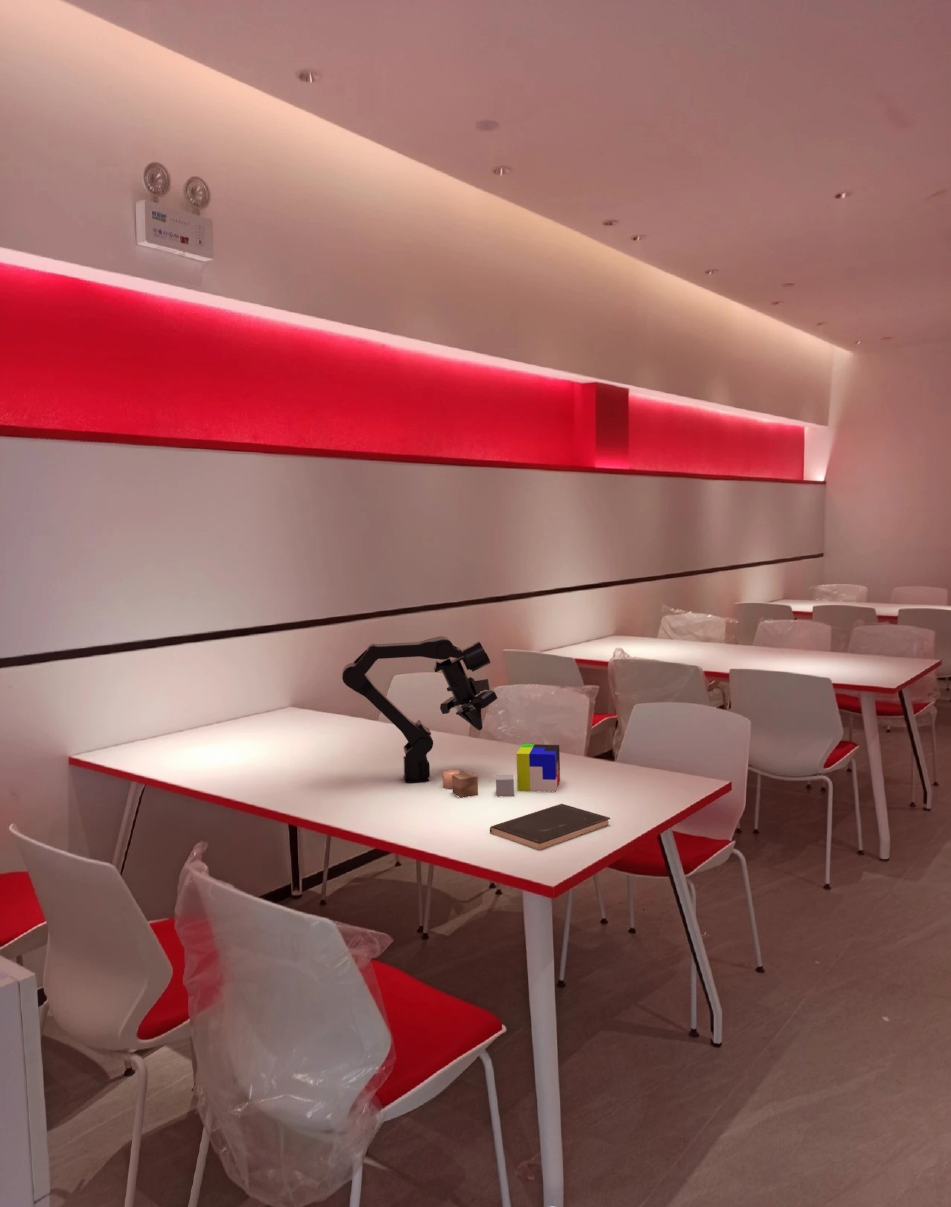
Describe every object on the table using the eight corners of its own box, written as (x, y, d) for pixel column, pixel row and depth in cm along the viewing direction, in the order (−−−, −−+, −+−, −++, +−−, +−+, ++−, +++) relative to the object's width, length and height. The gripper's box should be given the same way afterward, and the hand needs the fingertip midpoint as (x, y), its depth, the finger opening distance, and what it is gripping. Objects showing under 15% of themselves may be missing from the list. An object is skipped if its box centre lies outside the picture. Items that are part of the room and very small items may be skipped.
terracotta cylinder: (444, 789, 249) (444, 775, 249) (442, 785, 253) (441, 770, 253) (461, 788, 250) (460, 773, 249) (458, 784, 254) (458, 769, 254)
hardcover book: (610, 827, 217) (610, 817, 217) (539, 853, 202) (539, 842, 202) (560, 812, 230) (559, 803, 229) (489, 835, 214) (489, 825, 214)
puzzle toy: (555, 792, 244) (554, 754, 243) (517, 791, 246) (516, 753, 245) (560, 781, 254) (559, 745, 253) (523, 780, 256) (522, 744, 255)
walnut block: (460, 798, 241) (459, 779, 241) (452, 793, 246) (452, 774, 245) (478, 795, 243) (477, 776, 243) (470, 790, 248) (469, 771, 248)
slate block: (496, 797, 242) (496, 779, 241) (496, 791, 246) (495, 775, 246) (514, 796, 242) (513, 779, 241) (513, 791, 246) (513, 774, 246)
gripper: (498, 662, 257) (521, 712, 259) (455, 670, 271) (478, 718, 273) (471, 680, 250) (495, 732, 252) (429, 688, 264) (452, 737, 266)
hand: (480, 729), depth 261 cm, fingers closed
